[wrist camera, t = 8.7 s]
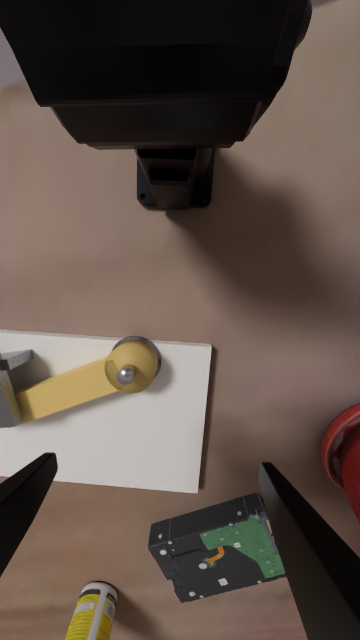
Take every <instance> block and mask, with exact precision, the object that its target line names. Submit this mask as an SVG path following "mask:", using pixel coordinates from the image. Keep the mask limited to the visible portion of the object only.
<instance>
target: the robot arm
mask: <svg viewBox="0 0 360 640" xmlns="http://www.w3.org/2000/svg"><path fill="white" fill-rule="evenodd" d="M311 15H312V4H311V0H0V28H1V29H2V31H3V33H4V35H5V37H6V39H7V41H8V42H9V44H10V46H11V48H12V50H13V52H14V54H15V57H16V59H17V61H18V63H19V65H20V68H21V70H22V72H23V74H24V76H25V79H26V81H27V83H28V85H29V87H30V90H31V92H32V94H33V96H34V98H35V100H36V102H37V103H38V105H39V106H40V107H51V109H52V110H53V112H54V113H55V115H56V117H57V118H58V120H59V121H60V123H61V124H62V126H63V127H64V128H65V129H66V130H67V132H68V133H69V134H70V135H71V136H72V137H73V138H74V139H75V140H76V142H77V143H79V144H87V145H88V146H90V147H92V148H95V149H97V150H104V149H134V150H135V152H136V155H137V199H138V201H139V203H140V204H142V205H157V206H158V207H159V208H160V209H177V210H187V209H188V208H189V207H198V208H206V207H208V206H209V204H210V201H211V191H212V179H213V167H214V155H215V148H230V147H231V146H232V145H233V144H234V143H235V142H239V141H244V139H245V138H246V137H247V136H248V135H249V134H250V132H251V129H252V128H253V126H254V125H255V124H256V123H257V121H258V120H259V119H260V117H261V116H262V115H263V114H264V112H265V111H266V110H267V108H268V107H269V106H270V104H271V103H272V101H273V99H274V98H275V96H276V94H277V92H278V91H279V90H280V88H281V87H282V86H283V84H284V82H285V80H286V77H287V74H288V71H289V67H290V63H291V60H292V56H293V52H294V50H295V49H296V48H297V46H298V45H299V44H300V43H301V42H302V40H303V39H304V37H305V35H306V32H307V29H308V26H309V23H310V19H311ZM142 196H145V199H144V200H141V197H142ZM203 199H207V202H206V203H204V202H203V201H202V200H203ZM57 470H58V463H57V457H56V454H55V453H54V452H46V453H44V454H42V455H41V456H39V457H38V458H36V459H35V460H33V461H32V462H31V463H29V464H28V465H26V466H25V467H24V468H22V469H21V470H19V471H18V472H16V473H15V474H14V475H12V476H11V477H9V478H8V479H6V480H5V481H4V482H2V483H1V484H0V577H1V575H2V573H3V572H4V570H5V568H6V566H7V565H8V563H9V561H10V560H11V558H12V556H13V554H14V553H15V551H16V549H17V548H18V546H19V544H20V542H21V541H22V539H23V537H24V536H25V534H26V532H27V530H28V529H29V527H30V525H31V523H32V522H33V520H34V518H35V516H36V514H37V512H38V510H39V508H40V506H41V504H42V502H43V500H44V498H45V496H46V494H47V492H48V490H49V488H50V486H51V484H52V482H53V480H54V478H55V476H56V473H57ZM259 484H260V488H261V492H262V496H263V500H264V504H265V508H266V512H267V516H268V519H269V523H270V527H271V531H272V534H273V537H274V541H275V544H276V547H277V549H278V552H279V555H280V558H281V561H282V564H283V567H284V570H285V573H286V576H287V579H288V582H289V585H290V588H291V591H292V594H293V596H294V599H295V602H296V605H297V608H298V611H299V614H300V617H301V620H302V623H303V626H304V629H305V632H306V635H307V638H308V640H360V558H359V557H358V556H357V555H356V554H355V553H354V552H353V550H352V549H351V548H350V547H349V546H348V545H347V544H346V543H345V542H344V541H343V540H342V539H341V537H340V536H339V535H338V534H337V533H336V532H335V531H334V530H333V529H332V528H331V527H330V526H329V525H328V523H327V522H326V521H325V520H324V519H323V518H322V517H321V516H320V515H319V514H318V513H317V512H316V510H315V509H314V508H313V507H312V506H311V505H310V504H309V503H308V502H307V501H306V500H305V499H304V497H303V496H302V495H301V494H300V493H299V492H298V491H297V490H296V489H295V488H294V487H293V486H292V485H291V483H290V482H289V481H288V480H287V479H286V478H285V477H284V476H283V475H282V474H281V473H280V472H279V470H278V469H277V468H276V467H275V466H274V465H273V464H272V463H270V462H261V463H260V469H259Z"/></svg>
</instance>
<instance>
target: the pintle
mask: <svg viewBox="0 0 360 640" xmlns="http://www.w3.org/2000/svg"><path fill="white" fill-rule="evenodd" d="M128 340H139V341H142V342H145V343H147V344H148V345H149V346H151V347H152V348H153V350H154V351H155V353H156V355H157V358H158V367H157V371H156V373H155V376H154V378H155V377H156V376H157V375H158V373H159V371H160V368H161V355H160V352H159V350H158V349H157V347H156V346H155V345H154V344H153V343H152V342H151V341H149V340H148V339H146V338H143V337H139V336H130V337H126V338H124V339H122V340H120V341H119V342H118V343H117V344H116V345H115V346H114V347H113V349H112V351H113V350H114V349H115V348H117V347H118V346H119V345H120V344H122V343H123V342H125V341H128ZM135 376H136V369H135V367H134V366H132V365H129V364H127V365H124V366H123V367H122V368H121V369H120V370H119V372H118V373H117V376H116V377H117V381H118V382H119V383H120V384H122V385H128V384H130V383H131V382H132V381H133V379H134V377H135Z"/></svg>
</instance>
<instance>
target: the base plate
mask: <svg viewBox="0 0 360 640" xmlns="http://www.w3.org/2000/svg"><path fill="white" fill-rule="evenodd" d="M122 339H124V338H117V337H102V336H87V335H73V334H58V333H44V332H29V331H14V330H0V353H1V354H3V353H7V352H14V351H21V350H29V349H32V352H33V356H34V359H32V360H29V361H27V362H25V363H23V364H21V365H19V366H17V367H15V368H13V369H11V370H7V373H8V376H9V379H10V382H11V385H12V388H13V391H15V390H18V389H21V388H24V387H26V386H29V385H32V384H34V383H37V382H40V381H43V380H45V379H48V378H51V377H53V376H56V375H59V374H62V373H64V372H67V371H70V370H72V369H75V368H78V367H81V366H83V365H86V364H89V363H91V362H94V361H97V360H99V359H102V358H105V357H108V355H109V354H110V353H111V352H112V349H113V347H114V346H115V345H116V344H117V343H118V342H119V341H120V340H122ZM149 341H151V342H152V343H153V344H154V345H155V346H156V347H157V349H158V350H159V352H160V355H161V368H160V371H159V373H158V375H157V376H156V377H155V378H154V379H153V381H152V383H151V384H150V386H149V387H148V388H146V389H145V390H143V391H141V392H138V393H125V392H122V391H116V392H113V393H110V394H107V395H104V396H102V397H99V398H96V399H93V400H90V401H87V402H84V403H81V404H78V405H75V406H73V407H70V408H67V409H64V410H61V411H58V412H55V413H52V414H49V415H47V416H44V417H41V418H38V419H35V420H32V421H29V422H26V423H23V424H20V425H18V426H16V427H12V428H9V429H8V427H7V428H0V476H8V477H11V476H12V475H14V474H15V473H16V472H18V471H19V470H21V469H22V468H24V467H25V466H26V465H28V464H29V463H31V462H32V461H33V460H35V459H36V458H38V457H39V456H41V455H42V454H44V453H46V452H54V453H55V454H56V457H57V463H58V470H57V473H56V476H55V478H54V480H53V481H64V482H75V483H86V484H97V485H108V486H120V487H131V488H142V489H153V490H164V491H175V492H187V493H198V484H199V473H200V463H201V453H202V442H203V432H204V422H205V411H206V401H207V391H208V380H209V370H210V360H211V349H212V347H211V344H204V343H189V342H175V341H160V340H149Z"/></svg>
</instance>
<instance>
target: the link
mask: <svg viewBox="0 0 360 640" xmlns="http://www.w3.org/2000/svg"><path fill="white" fill-rule="evenodd" d="M127 364H129V365H132V366H134V367H135V369H136V376H135V377H134V379H133V381H132V382H131V383H130V384H128V385H122V384H120V383H119V382H118V381H117V377H116V376H117V373H118V372H119V370H120V369H121V368H122V367H123V366H124V365H127ZM157 367H158V358H157V355H156V353H155V351H154V350H153V348H152V347H151V346H149V345H148V344H147V343H145V342H142V341H139V340H128V341H125V342H123V343H122V344H120V345H119V346H118V347H117V348H115V349H114V350H113V351H112V352H111V353H110V354H109V355H108V357H105V358H102V359H99V360H97V361H94V362H91V363H89V364H86V365H83V366H81V367H78V368H75V369H72V370H70V371H67V372H64V373H62V374H59V375H56V376H53V377H51V378H48V379H45V380H43V381H40V382H37V383H34V384H32V385H29V386H26V387H24V388H21V389H18V390H15V391H14V394H15V396H16V399H17V402H18V405H19V408H20V411H21V414H22V417H23V421H22V422H21V423H20V424H23V423H26V422H29V421H32V420H35V419H38V418H41V417H44V416H47V415H49V414H52V413H55V412H58V411H61V410H64V409H67V408H70V407H73V406H75V405H78V404H81V403H84V402H87V401H90V400H93V399H96V398H99V397H102V396H104V395H107V394H110V393H113V392H116V391H122V392H125V393H138V392H141V391H143V390H145V389H146V388H148V387H149V386H150V384H151V383H152V381H153V379H154V376H155V373H156V371H157ZM20 424H18V425H20ZM18 425H17V426H18ZM9 428H12V427H8V429H9Z"/></svg>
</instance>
